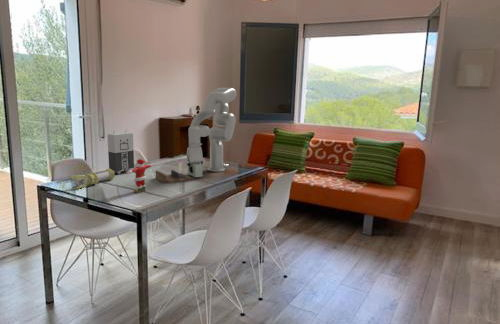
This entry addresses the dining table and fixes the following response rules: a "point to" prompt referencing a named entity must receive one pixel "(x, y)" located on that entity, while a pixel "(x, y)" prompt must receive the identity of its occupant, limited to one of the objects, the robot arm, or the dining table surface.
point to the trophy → (92, 178)
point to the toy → (120, 151)
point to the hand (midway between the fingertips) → (195, 171)
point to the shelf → (171, 177)
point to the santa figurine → (140, 175)
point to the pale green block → (196, 170)
